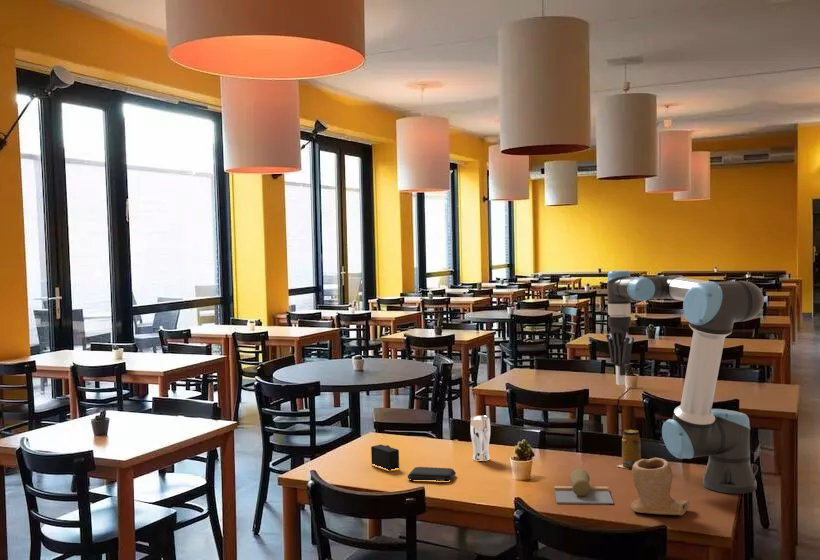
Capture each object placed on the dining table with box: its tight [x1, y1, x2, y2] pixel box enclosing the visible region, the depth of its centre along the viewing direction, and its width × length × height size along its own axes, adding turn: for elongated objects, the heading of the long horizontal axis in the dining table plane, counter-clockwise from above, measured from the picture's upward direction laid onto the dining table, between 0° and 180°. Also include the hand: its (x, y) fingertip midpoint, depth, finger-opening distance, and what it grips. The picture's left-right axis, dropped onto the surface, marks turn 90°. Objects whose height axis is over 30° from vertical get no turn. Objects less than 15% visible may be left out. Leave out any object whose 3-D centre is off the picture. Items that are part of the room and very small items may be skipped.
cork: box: [569, 468, 591, 497], centre depth 237 cm, size 6×6×11 cm
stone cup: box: [630, 457, 690, 516], centre depth 218 cm, size 15×12×15 cm
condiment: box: [617, 429, 642, 470], centre depth 264 cm, size 7×8×12 cm
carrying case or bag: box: [407, 466, 457, 481], centre depth 257 cm, size 11×3×15 cm
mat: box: [553, 485, 614, 505], centre depth 234 cm, size 13×16×1 cm
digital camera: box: [370, 444, 400, 470], centre depth 272 cm, size 10×5×7 cm, turn 38°
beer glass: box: [470, 415, 491, 461], centre depth 278 cm, size 7×7×15 cm
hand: (620, 384), depth 271 cm, fingers closed
